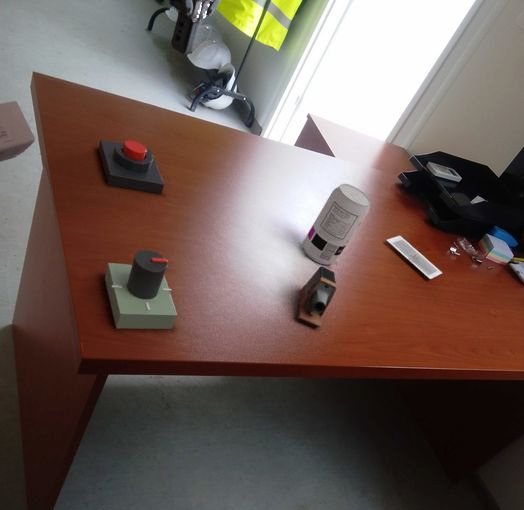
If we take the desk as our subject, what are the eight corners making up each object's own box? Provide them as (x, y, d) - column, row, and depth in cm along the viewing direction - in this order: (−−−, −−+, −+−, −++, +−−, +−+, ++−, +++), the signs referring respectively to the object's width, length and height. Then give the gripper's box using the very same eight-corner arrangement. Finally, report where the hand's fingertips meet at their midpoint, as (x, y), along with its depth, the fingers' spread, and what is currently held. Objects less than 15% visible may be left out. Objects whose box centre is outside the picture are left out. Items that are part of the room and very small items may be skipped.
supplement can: (295, 240, 98) (329, 179, 88) (323, 242, 103) (359, 185, 93) (311, 265, 94) (349, 204, 84) (340, 267, 99) (380, 209, 89)
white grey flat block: (397, 238, 122) (402, 232, 120) (439, 276, 117) (445, 269, 116) (383, 243, 116) (388, 236, 115) (427, 282, 112) (433, 276, 110)
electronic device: (295, 321, 80) (316, 290, 75) (299, 290, 87) (318, 259, 82) (317, 331, 81) (339, 301, 76) (319, 299, 88) (340, 270, 83)
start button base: (98, 149, 89) (101, 130, 87) (148, 160, 95) (153, 142, 92) (108, 185, 83) (112, 165, 80) (161, 194, 88) (166, 176, 86)
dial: (131, 299, 63) (140, 269, 59) (123, 277, 65) (131, 247, 61) (161, 299, 65) (171, 270, 61) (153, 278, 67) (162, 249, 64)
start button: (121, 146, 87) (122, 138, 85) (142, 151, 89) (144, 143, 87) (125, 158, 84) (126, 149, 83) (146, 162, 87) (148, 154, 85)
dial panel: (102, 277, 67) (106, 261, 65) (158, 281, 72) (163, 266, 70) (113, 328, 62) (118, 312, 60) (173, 329, 67) (179, 314, 65)
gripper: (231, -128, 41) (177, 70, 53) (282, -99, 51) (228, 62, 63) (162, -172, 41) (124, 35, 53) (227, -135, 51) (183, 33, 63)
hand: (180, 50), depth 58 cm, fingers closed
